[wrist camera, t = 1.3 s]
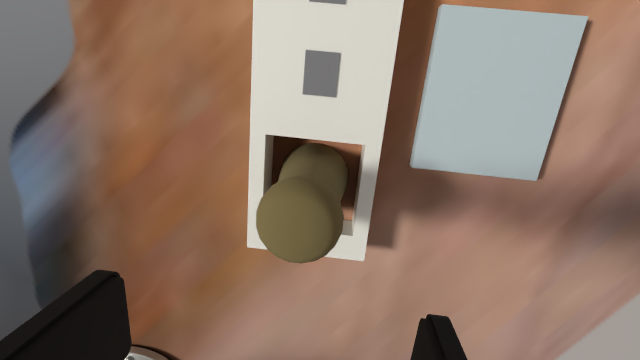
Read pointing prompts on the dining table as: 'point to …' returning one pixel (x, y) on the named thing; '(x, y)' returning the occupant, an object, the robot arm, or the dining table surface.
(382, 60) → the white board with cutout
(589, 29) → the dining table surface
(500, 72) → the rubber mat
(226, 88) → the dining table surface
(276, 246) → the olive rounded piece
